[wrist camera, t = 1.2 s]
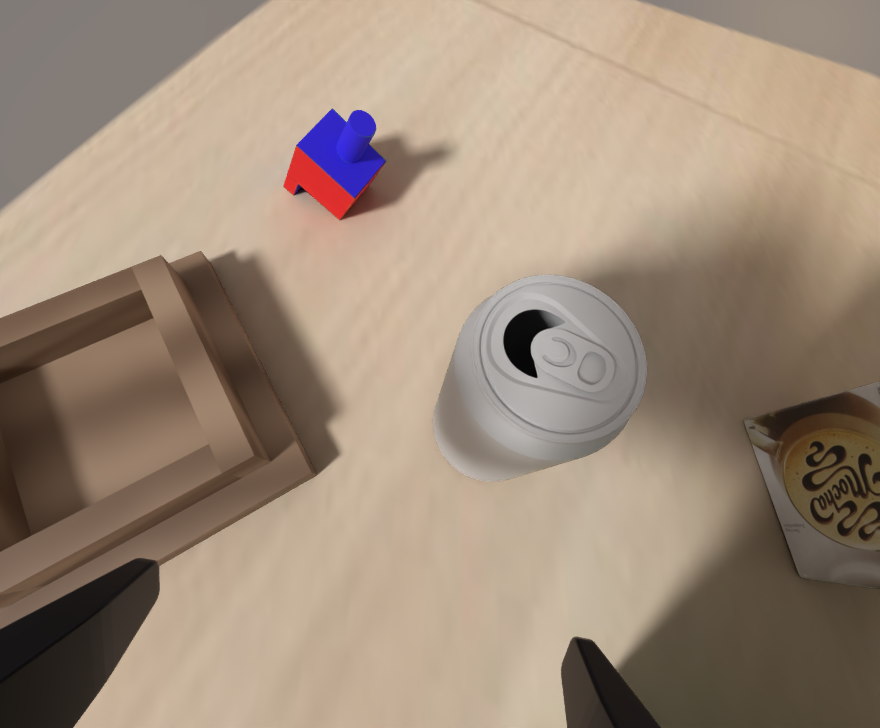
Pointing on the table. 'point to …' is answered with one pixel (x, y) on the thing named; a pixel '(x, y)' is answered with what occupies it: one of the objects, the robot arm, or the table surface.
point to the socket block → (130, 429)
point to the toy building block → (336, 161)
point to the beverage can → (538, 379)
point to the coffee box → (826, 482)
